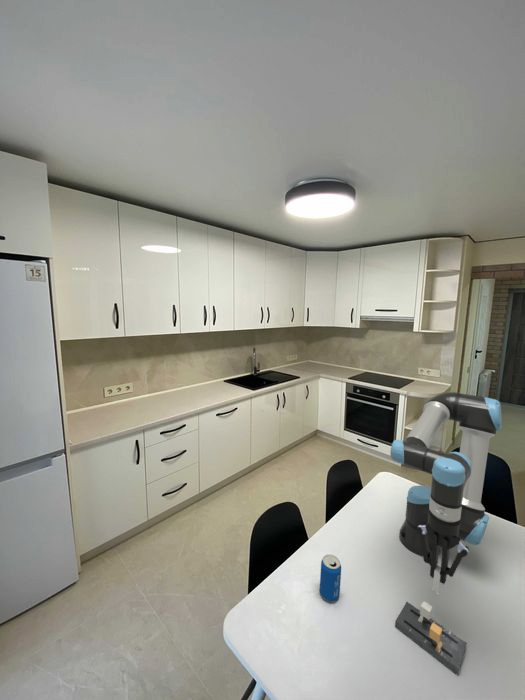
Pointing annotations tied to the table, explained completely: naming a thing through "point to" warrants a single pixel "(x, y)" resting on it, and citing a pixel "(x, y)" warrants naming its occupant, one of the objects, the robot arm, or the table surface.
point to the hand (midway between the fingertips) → (436, 589)
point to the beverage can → (330, 578)
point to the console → (418, 631)
